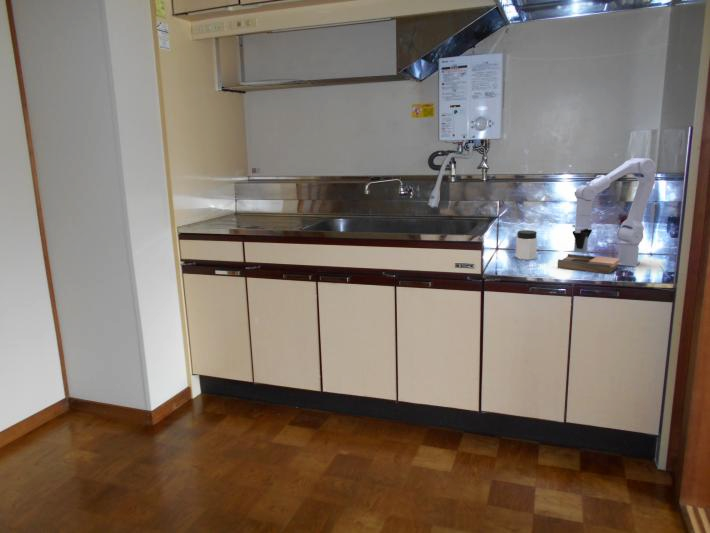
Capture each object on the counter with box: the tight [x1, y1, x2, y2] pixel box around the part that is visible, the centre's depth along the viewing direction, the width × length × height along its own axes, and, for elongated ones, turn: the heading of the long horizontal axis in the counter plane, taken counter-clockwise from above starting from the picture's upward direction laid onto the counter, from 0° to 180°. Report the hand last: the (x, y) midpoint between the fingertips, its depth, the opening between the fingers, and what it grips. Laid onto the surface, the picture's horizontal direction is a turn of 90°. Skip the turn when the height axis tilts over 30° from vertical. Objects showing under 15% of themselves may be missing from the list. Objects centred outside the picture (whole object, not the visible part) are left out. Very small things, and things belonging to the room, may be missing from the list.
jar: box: [515, 229, 538, 261], centre depth 248 cm, size 9×8×12 cm
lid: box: [589, 255, 620, 267], centre depth 224 cm, size 11×9×2 cm
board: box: [557, 253, 619, 275], centre depth 228 cm, size 14×20×4 cm
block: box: [573, 237, 589, 254], centre depth 228 cm, size 4×4×6 cm
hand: (581, 247), depth 228 cm, fingers closed on block, 4 cm apart
